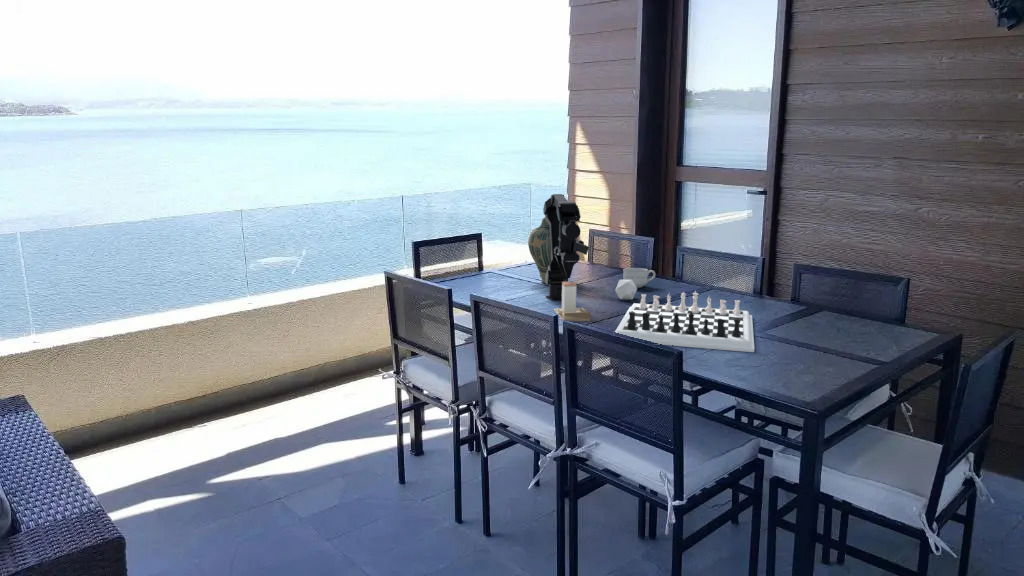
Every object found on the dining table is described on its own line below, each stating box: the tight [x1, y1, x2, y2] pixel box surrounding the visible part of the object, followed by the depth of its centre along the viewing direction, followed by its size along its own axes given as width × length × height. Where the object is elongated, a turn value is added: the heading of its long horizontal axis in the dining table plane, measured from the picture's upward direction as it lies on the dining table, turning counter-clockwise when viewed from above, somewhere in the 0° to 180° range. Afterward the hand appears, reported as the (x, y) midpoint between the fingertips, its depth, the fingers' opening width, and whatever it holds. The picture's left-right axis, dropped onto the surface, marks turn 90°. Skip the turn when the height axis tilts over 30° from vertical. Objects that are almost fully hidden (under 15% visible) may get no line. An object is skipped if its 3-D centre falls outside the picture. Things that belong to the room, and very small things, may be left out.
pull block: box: [561, 281, 577, 313], centre depth 284 cm, size 4×4×11 cm
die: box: [614, 279, 638, 300], centre depth 308 cm, size 8×9×10 cm
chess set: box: [614, 290, 755, 353], centre depth 263 cm, size 45×45×11 cm
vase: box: [527, 217, 579, 284], centre depth 337 cm, size 22×22×30 cm
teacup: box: [622, 267, 656, 289], centre depth 331 cm, size 14×11×8 cm
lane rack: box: [553, 307, 592, 322], centre depth 280 cm, size 19×10×4 cm, turn 8°
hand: (565, 275), depth 289 cm, fingers open, 9 cm apart
